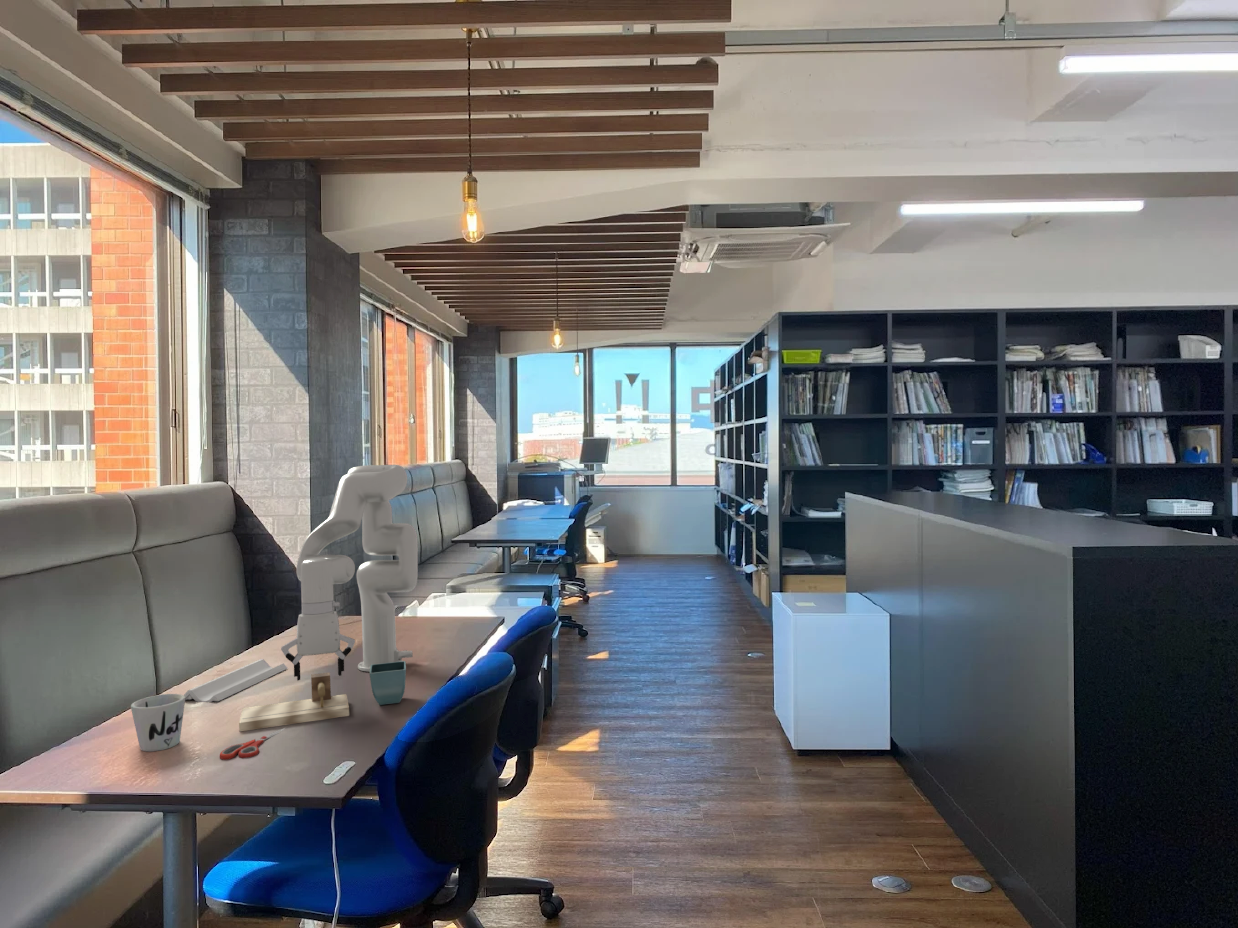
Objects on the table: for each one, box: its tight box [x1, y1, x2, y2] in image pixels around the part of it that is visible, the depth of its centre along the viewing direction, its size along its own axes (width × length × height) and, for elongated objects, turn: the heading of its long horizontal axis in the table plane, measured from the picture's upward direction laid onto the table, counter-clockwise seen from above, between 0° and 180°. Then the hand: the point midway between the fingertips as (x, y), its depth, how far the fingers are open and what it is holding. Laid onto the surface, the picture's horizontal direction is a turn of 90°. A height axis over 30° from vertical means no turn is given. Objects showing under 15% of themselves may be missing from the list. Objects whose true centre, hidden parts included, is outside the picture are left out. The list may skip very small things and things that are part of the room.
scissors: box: [219, 726, 288, 761], centre depth 176 cm, size 8×21×2 cm, turn 179°
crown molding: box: [183, 658, 288, 703], centre depth 222 cm, size 31×12×4 cm, turn 171°
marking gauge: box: [310, 671, 332, 707], centre depth 196 cm, size 4×13×8 cm, turn 22°
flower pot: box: [368, 660, 407, 706], centre depth 202 cm, size 9×9×9 cm
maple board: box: [238, 693, 350, 732], centre depth 193 cm, size 24×12×2 cm, turn 112°
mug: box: [130, 693, 186, 753], centre depth 176 cm, size 10×15×10 cm
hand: (319, 676), depth 199 cm, fingers open, 9 cm apart
